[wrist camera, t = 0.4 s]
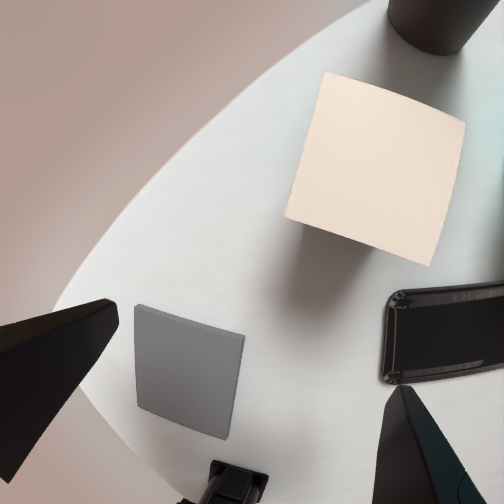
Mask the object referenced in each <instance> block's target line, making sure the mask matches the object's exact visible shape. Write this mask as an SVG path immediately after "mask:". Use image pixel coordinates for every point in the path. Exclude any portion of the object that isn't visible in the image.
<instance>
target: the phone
mask: <svg viewBox="0 0 504 504" xmlns="http://www.w3.org/2000/svg"><path fill="white" fill-rule="evenodd" d="M503 367H504V281H496V282H486V283H477V284H466V285H456V286H444V287H432V288H419V289H405V290H399V291H396V292H394V293H393V294H392V295H391V296H390V297H389V299H388V302H387V310H386V328H385V342H384V354H383V364H382V374H383V378H384V380H385V381H386V382H387V383H389V384H391V385H398V384H408V383H417V382H425V381H433V380H440V379H447V378H453V377H459V376H465V375H470V374H476V373H481V372H485V371H490V370H495V369H499V368H503Z"/></svg>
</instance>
